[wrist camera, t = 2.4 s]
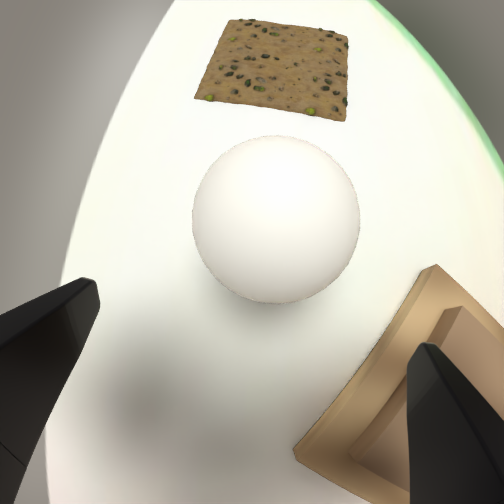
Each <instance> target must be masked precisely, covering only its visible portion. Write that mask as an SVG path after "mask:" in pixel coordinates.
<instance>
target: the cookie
mask: <svg viewBox="0 0 504 504" xmlns="http://www.w3.org/2000/svg"><path fill="white" fill-rule="evenodd" d="M348 47H349V46H348V38H347V36H344V35H341V34H337V33H335V31H328V30H323V29H322V28H319V29H316V28H311V27H304V26H303V27H302V26H295V25H284V24H277V23H272V22H267V21H258V20H255V19H249V20H243V19H239V20H229V22H228V24H227V25H226V27H225V29H224V31H223V33H222V36H221V37H220V39H219V41H218V45H217V47H216V49H215V50H214V54H213V55H212V57H211V60H210V62H209V64H208V65H207V69H206V72H205V74H204V76H203V78H202V80H201V83H200V85H199V88H198V90H197V93H196V94H195V96H194V99H200V100H206V101H209V102H213V101H220V102H224V103H232V104H246V105H253V106H258V107H267V108H274V109H278V110H284V111H289V112H297V113H302V114H306V115H310V116H318V117H322V118H325V119H331V120H334V121H341V122H343V121H345V118H346V106H347V103H348V102H347V80H348V75H347V69H348V65H347V57H348Z"/></svg>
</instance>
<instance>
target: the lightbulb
mask: <svg viewBox="0 0 504 504" xmlns="http://www.w3.org/2000/svg"><path fill="white" fill-rule="evenodd" d="M192 229H193V236H194V240H195V244H196V248H197V250H198V252H199V254H200V256H201V258H202V260H203V262H204V264H205V265H206V266H207V268H208V269H209V270H210V272H211V273H212V274H213V275H214V277H215V278H216V279H217V280H218V281H220V282H221V283H222V284H223V285H224V286H225V287H226V288H228V289H229V290H231V291H233V292H235V293H236V294H238V295H240V296H242V297H244V298H247V299H250V300H254V301H257V302H262V303H271V304H281V303H292V302H296V301H299V300H302V299H306V298H309V297H311V296H312V295H314V294H316V293H318V292H320V291H321V290H323V289H325V288H326V287H327V286H328V285H330V284H331V283H332V282H333V281H334V280H335V279H336V278H338V277H339V275H340V274H341V273H342V271H343V270H344V269H345V267H346V266H347V265H348V263H349V261H350V259H351V257H352V255H353V252H354V250H355V248H356V244H357V240H358V236H359V231H360V210H359V204H358V199H357V194H356V191H355V189H354V187H353V184H352V182H351V180H350V178H349V177H348V175H347V174H346V172H345V171H344V169H343V168H342V167H341V166H340V165H339V164H338V163H337V162H336V161H335V160H334V159H333V158H332V157H331V156H330V155H329V154H327V153H326V152H325V151H323V150H322V149H320V148H319V147H317V146H315V145H313V144H311V143H309V142H307V141H304V140H301V139H297V138H294V137H288V136H279V135H278V136H263V137H259V138H255V139H251V140H248V141H246V142H243V143H241V144H239V145H236V146H234V147H233V148H231V149H230V150H228V151H227V152H225V153H223V154H222V155H221V156H220V157H219V158H218V159H217V160H216V161H215V162H214V163H213V164H212V165H211V166H210V168H209V169H208V171H207V172H206V174H205V175H204V177H203V179H202V181H201V183H200V185H199V188H198V190H197V192H196V195H195V199H194V204H193V210H192Z"/></svg>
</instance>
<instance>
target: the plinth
mask: <svg viewBox="0 0 504 504" xmlns="http://www.w3.org/2000/svg"><path fill="white" fill-rule="evenodd" d="M422 342H429V343H434V344H436V345H437V346H438V347H439V348H440V349H441V350H442V352H443V353H444V354H445V355H446V356H447V357H448V358H449V359H450V360H451V361H452V362H453V363H454V364H455V366H456V367H457V368H458V369H459V370H460V371H461V372H462V373H463V374H464V375H465V377H466V378H467V379H468V380H469V381H470V382H471V383H472V384H473V385H474V387H475V388H476V389H477V390H478V391H479V392H480V393H481V395H482V396H483V397H484V398H485V399H486V400H487V401H488V403H489V404H490V405H491V406H492V407H493V408H494V410H495V411H496V412H497V413H498V414H499V415H500V417H501V418H502V419H503V420H504V328H503V327H502V326H501V325H500V324H499V323H498V322H497V321H496V320H495V319H494V318H493V317H492V316H491V315H490V314H489V313H488V312H487V311H486V310H485V309H484V308H483V307H482V306H481V305H480V304H479V303H478V302H477V301H476V300H475V299H474V298H473V297H472V296H471V295H470V294H469V293H468V292H467V291H466V290H465V289H464V288H463V287H462V286H460V285H459V284H458V283H457V282H456V281H455V280H454V279H453V278H452V277H451V276H450V275H449V274H447V273H446V272H445V271H444V270H443V269H442V268H441V267H440V266H439V265H437V264H435V265H433V266H431V267H429V268H426V269H424V270H422V271H421V273H420V275H419V277H418V278H417V280H416V282H415V284H414V285H413V287H412V289H411V291H410V292H409V294H408V296H407V297H406V299H405V301H404V302H403V304H402V305H401V307H400V309H399V310H398V312H397V313H396V315H395V317H394V318H393V320H392V321H391V323H390V324H389V326H388V327H387V329H386V331H385V332H384V334H383V335H382V337H381V338H380V339H379V341H378V342H377V344H376V345H375V347H374V348H373V350H372V351H371V353H370V354H369V355H368V357H367V358H366V360H365V361H364V362H363V364H362V365H361V367H360V368H359V369H358V371H357V372H356V373H355V375H354V376H353V377H352V379H351V380H350V381H349V383H348V384H347V385H346V387H345V388H344V389H343V390H342V392H341V393H340V394H339V396H338V397H337V398H336V399H335V401H334V402H333V403H332V404H331V406H330V407H329V408H328V409H327V410H326V412H325V413H324V414H323V415H322V416H321V418H320V419H319V420H318V421H317V422H316V424H315V425H314V426H313V427H312V428H311V429H310V431H309V432H308V433H307V434H306V435H305V436H304V437H303V438H302V440H301V441H300V442H299V443H298V444H297V445H296V446H295V447H294V448H293V451H294V454H295V457H296V460H297V461H298V462H300V463H301V464H303V465H305V466H306V467H308V468H309V469H311V470H313V471H314V472H316V473H318V474H319V475H321V476H323V477H325V478H326V479H328V480H330V481H331V482H333V483H335V484H337V485H338V486H340V487H342V488H344V489H346V490H348V491H349V492H351V493H353V494H355V495H357V496H359V497H361V498H363V499H365V500H366V501H368V502H370V503H372V504H410V479H409V448H408V432H407V416H406V406H407V373H406V370H407V364H408V361H409V360H410V358H411V357H412V355H413V353H414V352H415V350H416V349H417V347H418V345H419V344H420V343H422Z"/></svg>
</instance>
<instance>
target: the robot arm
mask: <svg viewBox="0 0 504 504" xmlns="http://www.w3.org/2000/svg"><path fill="white" fill-rule="evenodd" d="M99 309H100V299H99V294H98V289H97V284H96V282H95V281H94V280H92V279H89V278H85V277H81V278H79V279H77V280H74V281H72V282H70V283H68V284H66V285H63V286H61V287H59V288H57V289H55V290H52V291H50V292H48V293H46V294H44V295H41V296H39V297H37V298H35V299H33V300H31V301H29V302H27V303H24V304H22V305H20V306H18V307H16V308H14V309H12V310H10V311H8V312H6V313H4V314H1V315H0V504H14V501H15V498H16V495H17V493H18V490H19V487H20V485H21V482H22V479H23V477H24V474H25V472H26V469H27V466H28V464H29V461H30V459H31V456H32V454H33V452H34V449H35V447H36V445H37V442H38V440H39V438H40V436H41V433H42V431H43V429H44V427H45V425H46V422H47V420H48V418H49V416H50V414H51V412H52V410H53V408H54V405H55V403H56V401H57V399H58V397H59V395H60V393H61V391H62V389H63V387H64V385H65V383H66V381H67V379H68V377H69V375H70V373H71V372H72V370H73V368H74V366H75V364H76V362H77V360H78V358H79V356H80V354H81V352H82V350H83V348H84V345H85V343H86V340H87V338H88V336H89V333H90V331H91V328H92V326H93V324H94V321H95V319H96V317H97V315H98V312H99ZM406 373H407V406H406V416H407V432H408V448H409V479H410V504H504V420H503V419H502V418H501V417H500V415H499V414H498V413H497V412H496V411H495V410H494V408H493V407H492V406H491V405H490V404H489V403H488V401H487V400H486V399H485V398H484V397H483V396H482V395H481V393H480V392H479V391H478V390H477V389H476V388H475V387H474V385H473V384H472V383H471V382H470V381H469V380H468V379H467V378H466V377H465V375H464V374H463V373H462V372H461V371H460V370H459V369H458V368H457V367H456V366H455V364H454V363H453V362H452V361H451V360H450V359H449V358H448V357H447V356H446V355H445V354H444V353H443V352H442V350H441V349H440V348H439V347H438V346H437V345H436V344H434V343H429V342H422V343H420V344H419V345H418V347H417V349H416V350H415V352H414V353H413V355H412V357H411V358H410V360H409V361H408V364H407V370H406Z"/></svg>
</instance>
